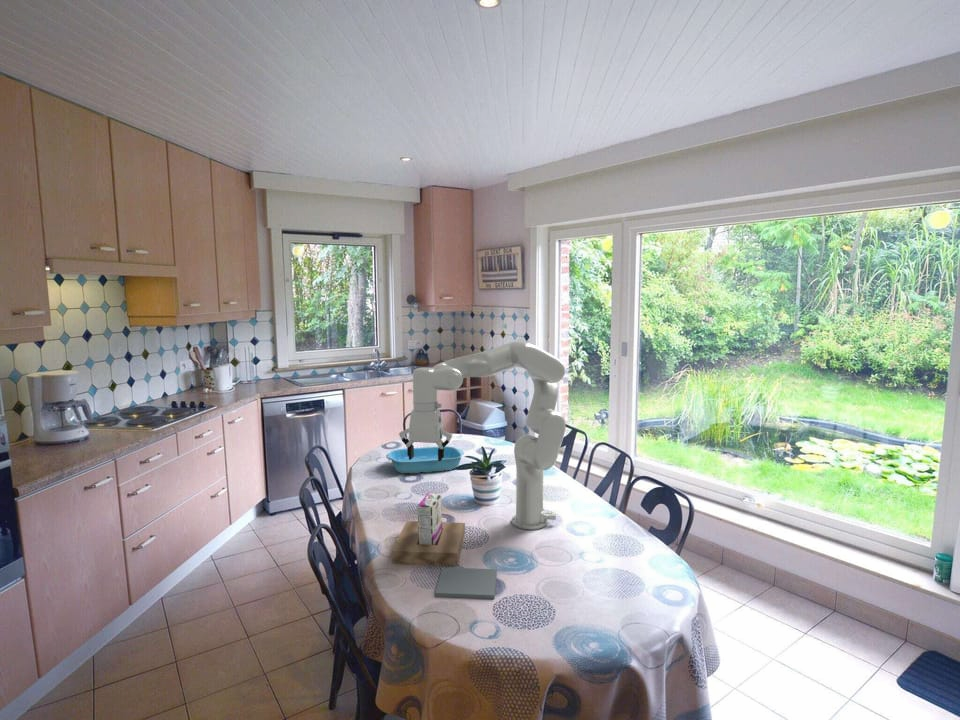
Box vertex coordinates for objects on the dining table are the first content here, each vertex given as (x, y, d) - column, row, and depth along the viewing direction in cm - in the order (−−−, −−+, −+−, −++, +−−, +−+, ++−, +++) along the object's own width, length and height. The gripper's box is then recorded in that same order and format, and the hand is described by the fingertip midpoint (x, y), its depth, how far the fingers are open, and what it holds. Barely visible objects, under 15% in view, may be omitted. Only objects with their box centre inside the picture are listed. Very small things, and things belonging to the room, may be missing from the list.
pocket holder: (464, 534, 186) (464, 522, 185) (457, 565, 164) (457, 553, 163) (406, 532, 187) (406, 520, 187) (391, 563, 165) (391, 550, 165)
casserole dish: (457, 457, 274) (457, 443, 273) (469, 471, 252) (469, 456, 252) (383, 463, 263) (383, 449, 263) (389, 478, 242) (389, 462, 241)
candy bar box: (428, 539, 181) (427, 492, 180) (442, 541, 180) (442, 493, 179) (417, 555, 171) (416, 504, 169) (433, 556, 170) (432, 506, 168)
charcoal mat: (496, 572, 160) (496, 569, 160) (494, 598, 146) (494, 595, 146) (442, 570, 161) (442, 567, 161) (435, 596, 147) (435, 592, 147)
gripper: (454, 405, 175) (454, 457, 177) (402, 403, 178) (403, 454, 180) (448, 410, 167) (449, 464, 170) (395, 408, 171) (396, 461, 173)
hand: (425, 459), depth 175 cm, fingers open, 9 cm apart
